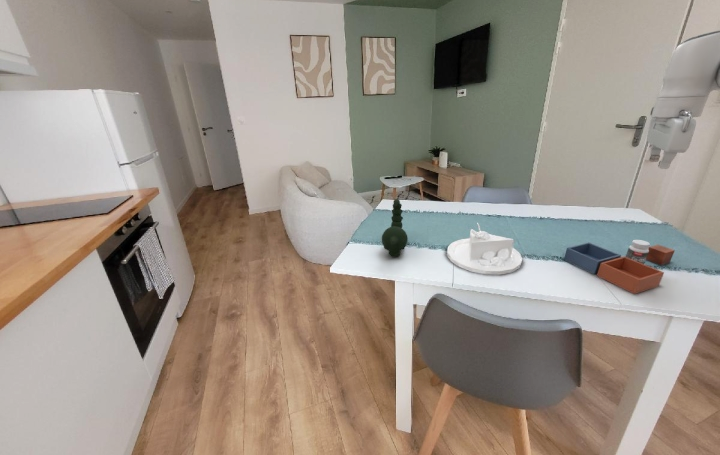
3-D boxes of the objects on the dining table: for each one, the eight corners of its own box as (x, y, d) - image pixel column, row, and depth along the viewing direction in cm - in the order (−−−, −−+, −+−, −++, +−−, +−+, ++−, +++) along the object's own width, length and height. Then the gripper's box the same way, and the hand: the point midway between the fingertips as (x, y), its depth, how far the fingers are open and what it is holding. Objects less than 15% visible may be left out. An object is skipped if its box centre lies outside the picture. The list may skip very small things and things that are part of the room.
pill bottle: (628, 268, 93) (636, 245, 89) (620, 261, 97) (627, 238, 94) (646, 269, 92) (655, 246, 88) (637, 262, 96) (645, 239, 93)
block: (669, 262, 95) (675, 250, 93) (660, 265, 94) (665, 252, 92) (653, 256, 99) (657, 244, 97) (644, 258, 98) (648, 247, 96)
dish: (446, 269, 97) (448, 239, 93) (448, 238, 119) (450, 212, 115) (528, 279, 90) (534, 246, 86) (514, 243, 112) (519, 216, 108)
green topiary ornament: (386, 239, 125) (379, 263, 102) (385, 196, 120) (379, 211, 96) (408, 239, 124) (406, 264, 100) (408, 196, 118) (407, 212, 95)
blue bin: (616, 267, 93) (621, 255, 92) (594, 274, 91) (598, 261, 89) (585, 253, 102) (588, 242, 101) (563, 259, 100) (566, 247, 98)
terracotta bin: (658, 285, 84) (664, 272, 82) (634, 294, 81) (639, 280, 79) (619, 268, 93) (624, 256, 91) (596, 275, 90) (600, 262, 88)
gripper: (713, 111, 63) (688, 173, 68) (681, 107, 79) (662, 158, 84) (673, 111, 66) (652, 172, 72) (650, 108, 82) (634, 157, 87)
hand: (657, 164), depth 78 cm, fingers open, 8 cm apart
